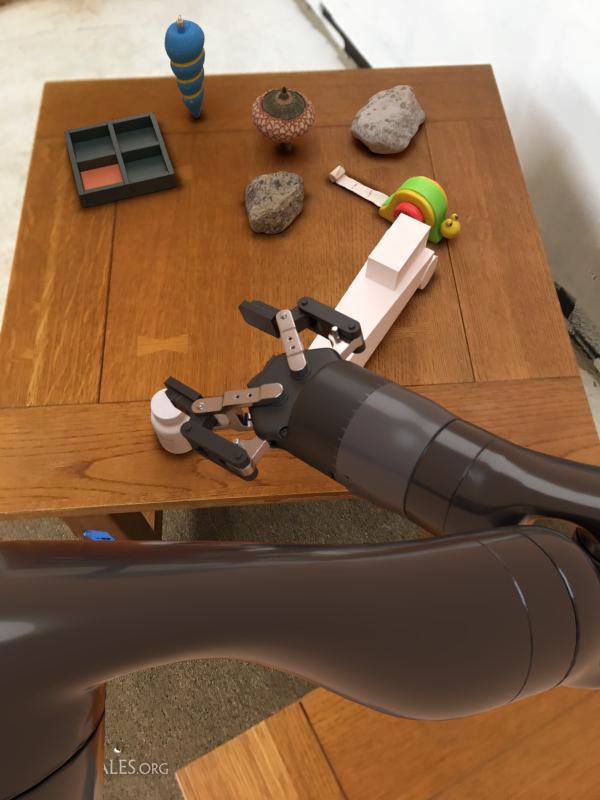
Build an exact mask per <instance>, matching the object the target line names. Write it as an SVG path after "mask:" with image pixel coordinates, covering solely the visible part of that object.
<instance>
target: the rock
mask: <svg viewBox="0 0 600 800" xmlns="http://www.w3.org/2000/svg"><path fill="white" fill-rule="evenodd" d="M304 183H305V181H304V179H303V178H302V176H300V175H299V174H298V173H296V172H294V173H293V172H288V171H285V170H280V171H277V172H271V173H268V174H263V173H262V174H260V175H258V176H256V177H254V178H253V179H252V180H250V182H249V183H248V184H247V185H246V186H245V190H244V193H245V194H244V195H245V201H244V202H245V203H244V205H245V209H246V213H247V216H248V220H249V226H250V228H251V229H252V231H253V232H255V233H265V234H267V235H275V234H280V233H282V232H283V231H285V229H286V228H288V227H289V226H290V225H291V223H292V222H293V221H294V220H295V219H296V217H298V215H299V214H300V213H301V212H302V211H303V207H304V205H303V202H304V200H305V189H304V185H305V184H304Z"/></svg>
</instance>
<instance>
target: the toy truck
mask: <svg viewBox="0 0 600 800" xmlns="http://www.w3.org/2000/svg"><path fill="white" fill-rule="evenodd" d="M430 228H431V227H430V226H428V225H426V224H424V223H422V222H420V221H418V220H415V219H413V218H411V217H409V216H407V215H405V214H402V213H401V214H400V215H399V217H398V218H397V219H396V221H395V222H394V223H392V225H391V226H390V227H389V229H387V230H386V232H385V233H384V235H383V236H382V237H381V239H380V240H379V242H378V243H377V244H376V246H375V247H374V248H373V250H372V251H371V253H370V254H369V255H368V257H367V260H366V261H365V263H364V265H363V266H362V268H361V269H360V271H359V272H358V274H357V275H356V277H354V279H353V281H352V282H351V284H350V285H349V287H348V289H347V290H346V292H345V293H344V294H343V296H342V297H341V299H340V300H339V301H338V304H337V305H336V306H335V308H334V309H335V310H337V311H339V312H341V313H343V314H345V315H347V316H349V317H351V318H353V319H355V320H357V321H358V322H359V323H360V326H361V329H362V333H363V337H364V341H365V345H366V349H365V350H364V351H363V352H362V353H360V354H354V353H351V354H350V355H349V356H348V357H347V359H346V360H348V361H351V362H353V363H355V364H357V365H359V366H362V367H364V366H365V365H366V364H367V362H368V361H369V359H370V358H371V356H372V355H373V354H374V351H375V350H376V349H377V347H378V345H379V344H380V343H381V342H382V340H383V339H384V337H385V336H386V335H387V333H388V332H389V330H390V329H391V327H392V326H393V325H394V322H396V320H397V318H398V317H399V316H400V315H401V313H402V311H403V310H404V308H405V307H406V305H407V304H408V302H409V301H410V299H411V298H412V297H413V295H414V293H415V292H416V291H417V290H418V289H420V290H424V288H425V287H426V286H427V285H428V283H429V282H430V280H431V278H432V276H433V274H434V272H435V271H436V267H437V266H438V262H439V256H438V255H435V250H432V249H430V248H428V247H427V242H428V236H429V232H430ZM326 347H327V348H333V347H332V346H331V343H330V340H328V339H326V338H324V337H322V336H320V335H318V334H316V337H315V338H314V340H313V341H312V343H311V345H309V347H308V349H316V348H326Z"/></svg>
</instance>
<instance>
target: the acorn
mask: <svg viewBox="0 0 600 800" xmlns="http://www.w3.org/2000/svg"><path fill="white" fill-rule="evenodd" d="M251 120H252V123H253V125H254V126H255V128H256V129H257V130H258V132H259V133H260V135H262V136H263V137H264V138H265V139H267V140H269V141H271V142H273V143H278V144H279V146H278V147H279V149H280V150H282V151H285V152H289V151H291V148H292V145H291V142H296V141H298V140H300V139H302V138H303V137H304V136H305V135H306V134H307V133H309V132H310V130H311V129H312V127H313V126H314V124H315V121H316V111H315V107H314V104H313V103H312V102H311V101H310V99H309V98H308V97H307V96H306V95H305V94H304V93H303V92H301V91H298V90H293V89H291V88H286V86H282V88H271V89H269V90H266V91H265V92H263V93H262V94H260V95H259V96H258V97H256V98H255V100H254V102H253V104H252V107H251Z"/></svg>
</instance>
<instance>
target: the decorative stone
mask: <svg viewBox="0 0 600 800" xmlns="http://www.w3.org/2000/svg"><path fill="white" fill-rule="evenodd" d="M426 117H427V116H426V113H425V111H424V110H423V109H422V107H421V105H420V104H419V102H418V100H417V99H416V95H415V90H414V88H413V87H412V86H411V85H408V84H407V85H406V84H405V85H402V84H399V85H396V86H394V87H392V88H390V89H386V90H385V89H384V90H381V91H379V92H376V93H375V94H374V95H373V96H371V97H370V98H369V99H367V101H366V104H365V105H364V106H362V107H361V108H359V110H358V111H357V113H356V114H355V117H354V119H353V121H352V122H351V126H350V134H351V135H352V136H353V138H355V139H357V140H359V141H360V142H361V143H362V144H363V145H365V147H367V148H368V149H369V150H370V152H372V153H376V154H380V155H382V154H383V155H387V154H396V153H401V152H403V151H405V150H406V148H407V147H408V146H409V144H410V143H411V139H412V138H413V137H415V135H416V133H417V132H418V130H419V126H420V125H421V124H423V123H424V122H425V120H426Z"/></svg>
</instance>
